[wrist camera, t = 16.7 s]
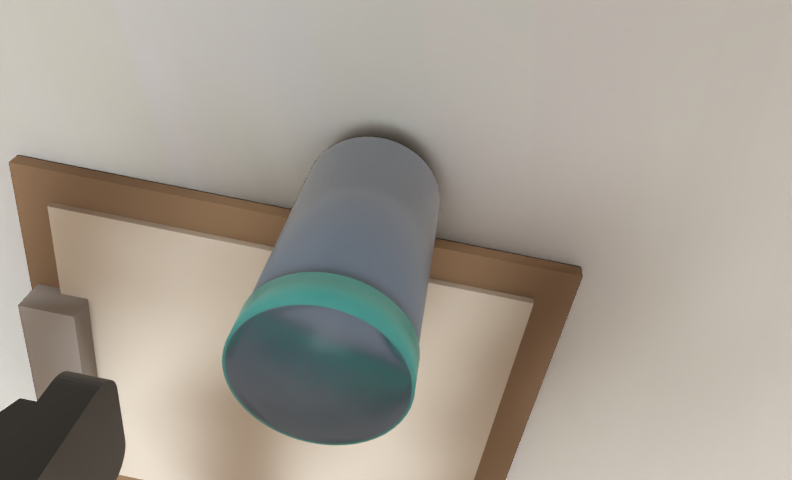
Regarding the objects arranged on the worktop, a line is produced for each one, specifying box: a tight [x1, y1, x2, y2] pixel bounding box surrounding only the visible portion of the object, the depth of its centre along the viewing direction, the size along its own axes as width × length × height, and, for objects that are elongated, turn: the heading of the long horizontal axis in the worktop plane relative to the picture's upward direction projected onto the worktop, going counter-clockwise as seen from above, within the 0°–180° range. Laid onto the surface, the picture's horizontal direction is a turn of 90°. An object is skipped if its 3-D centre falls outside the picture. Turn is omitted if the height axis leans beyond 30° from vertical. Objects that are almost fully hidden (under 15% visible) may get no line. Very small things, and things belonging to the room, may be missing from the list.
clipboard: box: [9, 155, 583, 480], centre depth 22 cm, size 15×13×1 cm
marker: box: [222, 137, 440, 445], centre depth 15 cm, size 3×3×7 cm
